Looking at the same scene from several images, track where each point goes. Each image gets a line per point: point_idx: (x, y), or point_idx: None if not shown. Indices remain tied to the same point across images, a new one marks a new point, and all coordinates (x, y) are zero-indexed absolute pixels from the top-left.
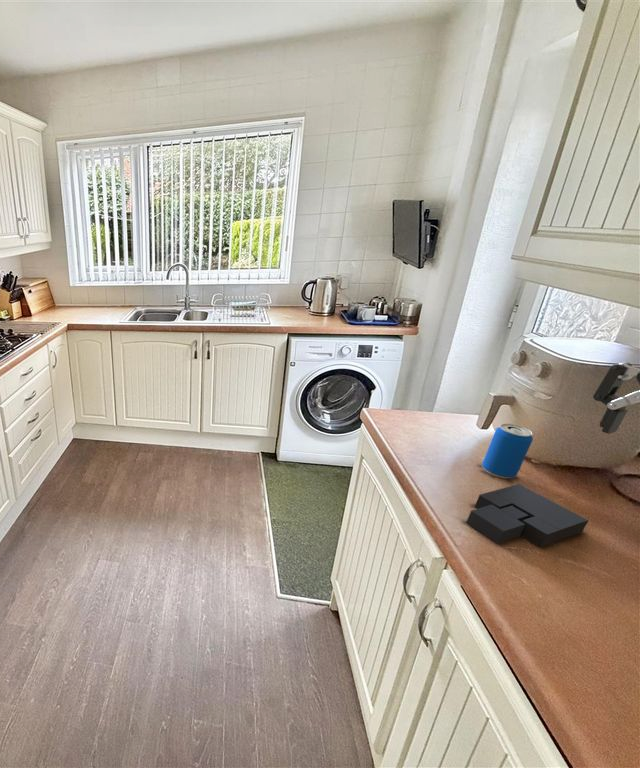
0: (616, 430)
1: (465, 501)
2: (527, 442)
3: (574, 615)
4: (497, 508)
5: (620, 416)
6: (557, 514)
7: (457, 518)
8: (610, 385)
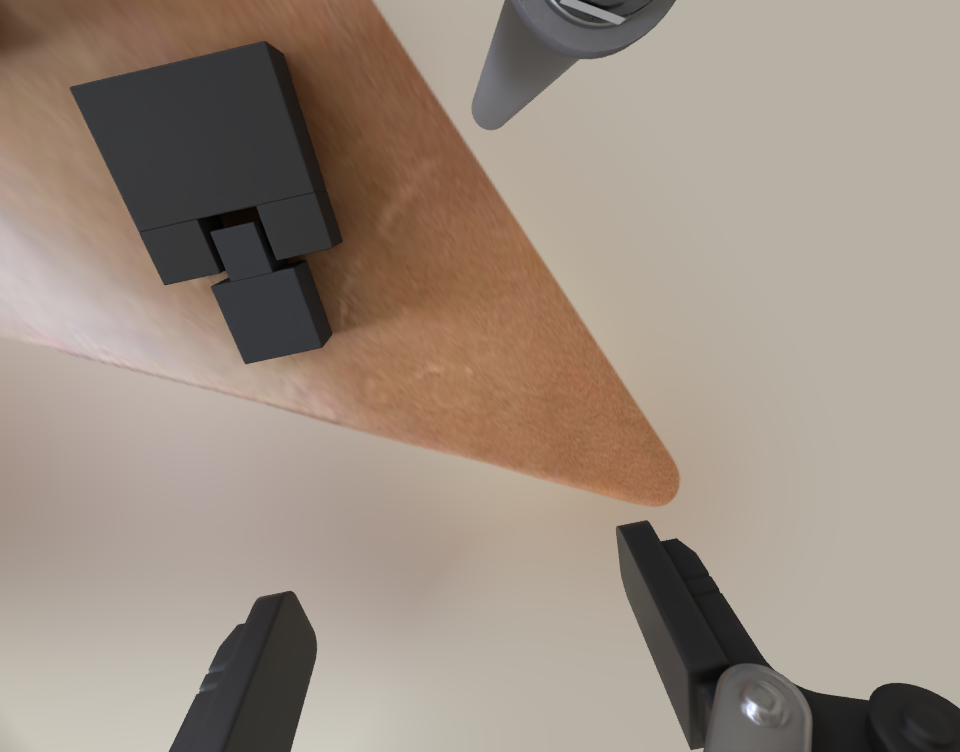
0: (288, 595)
1: None
2: None
3: (513, 349)
4: (229, 287)
5: (264, 742)
6: (242, 124)
7: None
8: None
